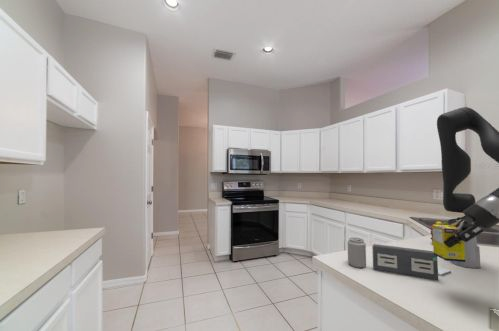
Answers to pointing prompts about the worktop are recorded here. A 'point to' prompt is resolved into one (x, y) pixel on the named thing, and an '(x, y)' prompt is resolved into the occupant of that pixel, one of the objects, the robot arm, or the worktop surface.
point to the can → (356, 252)
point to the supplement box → (443, 250)
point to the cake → (436, 224)
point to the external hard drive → (443, 271)
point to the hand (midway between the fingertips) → (442, 241)
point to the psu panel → (405, 261)
